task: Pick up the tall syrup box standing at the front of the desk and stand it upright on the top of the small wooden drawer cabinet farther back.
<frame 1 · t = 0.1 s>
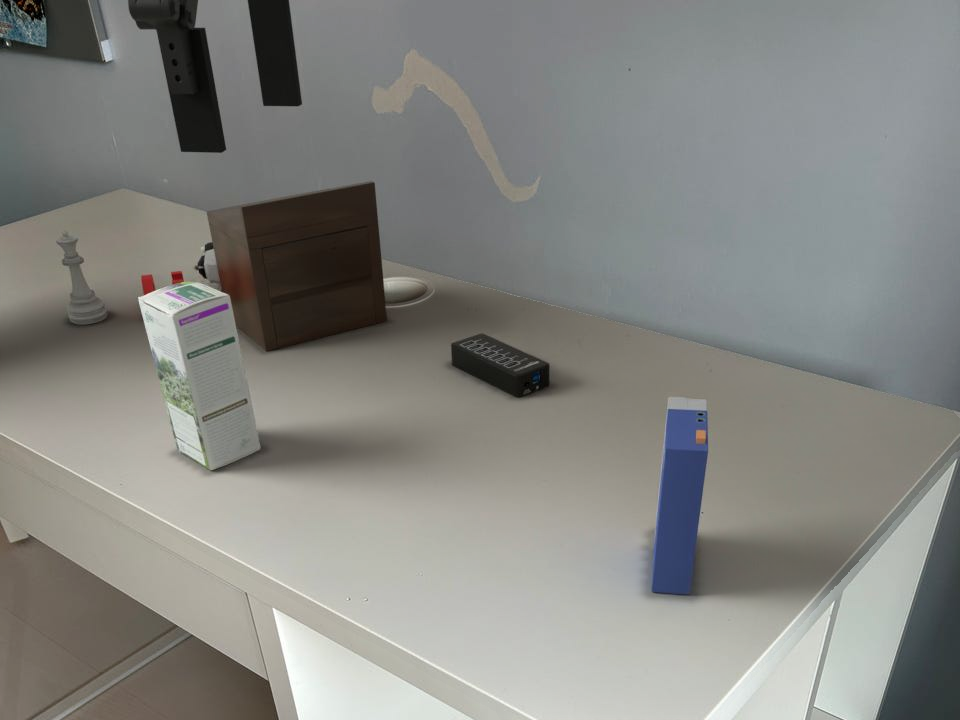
hand: (246, 127, 66), 28 cm above the table, tool pointing down, fingers open, 13 cm apart
walkman: (670, 566, 74), on the table
multiport hub: (499, 376, 101), on the table
robot toy: (249, 278, 127), on the table
chess piece: (89, 319, 117), on the table
bracket: (168, 308, 119), on the table
wooden drawer cabinet: (306, 319, 115), on the table
syrup box: (219, 453, 90), on the table
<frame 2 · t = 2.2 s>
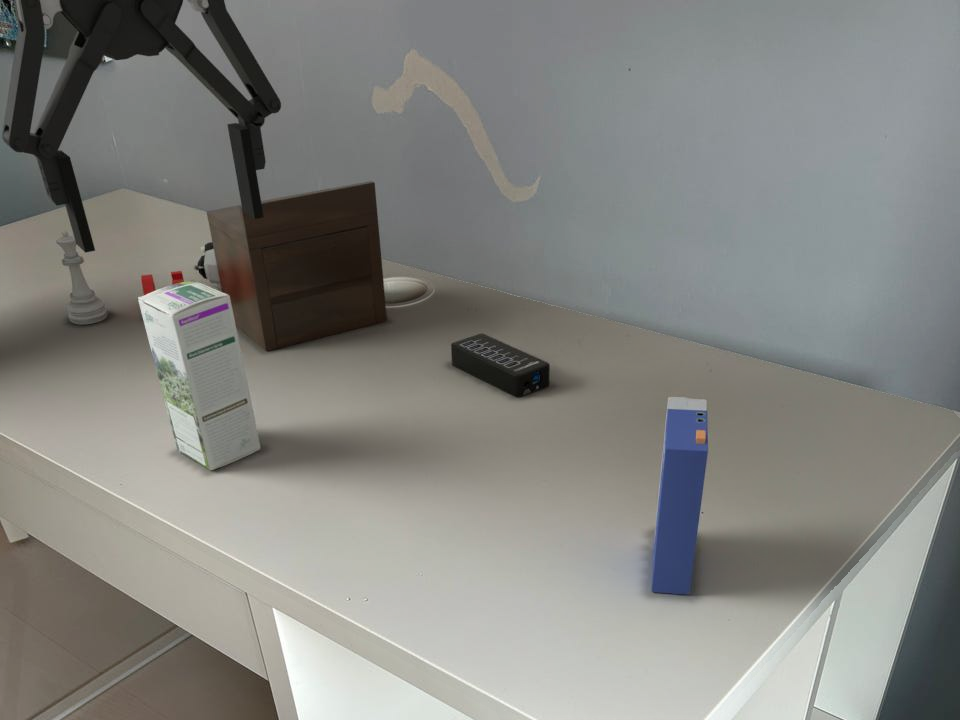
hand: (172, 230, 78), 19 cm above the table, tool pointing down, fingers open, 13 cm apart
nothing on the table moved.
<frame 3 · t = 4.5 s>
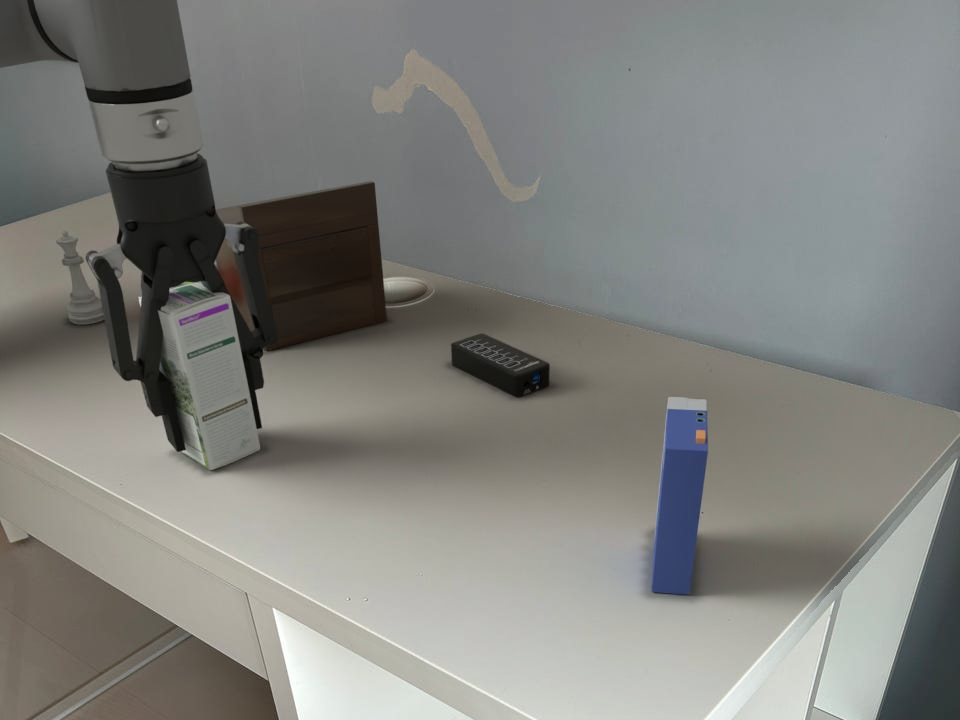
hand: (215, 433, 89), 2 cm above the table, tool pointing down, fingers closed on syrup box, 6 cm apart
syrup box: (219, 453, 90), on the table, touching gripper
everything else where it was.
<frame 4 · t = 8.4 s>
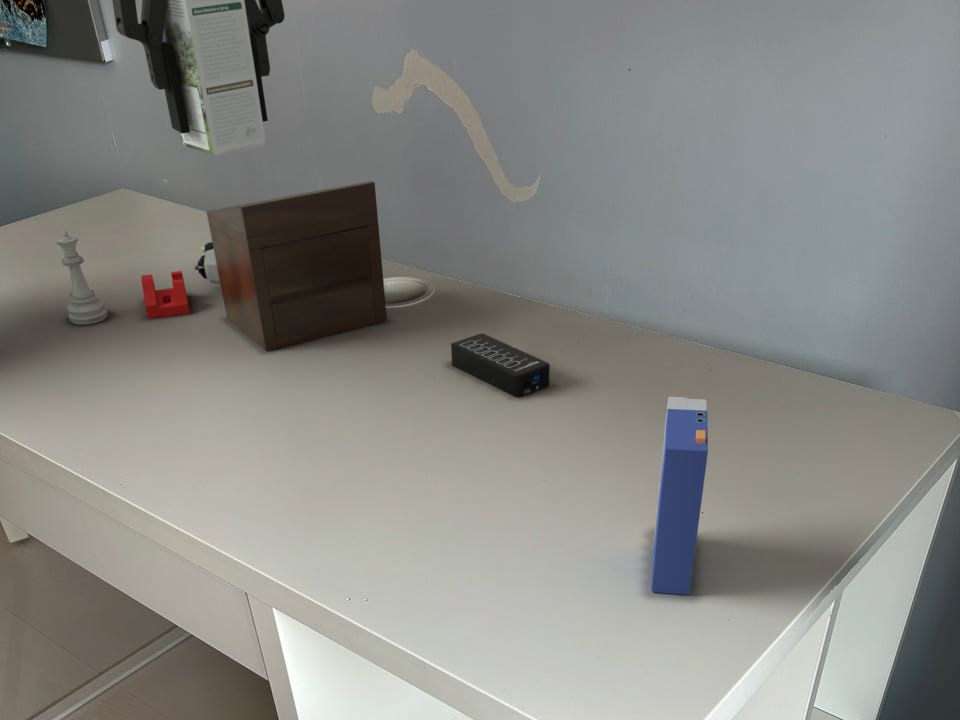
hand: (220, 123, 87), 24 cm above the table, tool pointing down, fingers closed on syrup box, 6 cm apart
syrup box: (223, 148, 88), point 22 cm above the table, touching gripper
everything else where it was.
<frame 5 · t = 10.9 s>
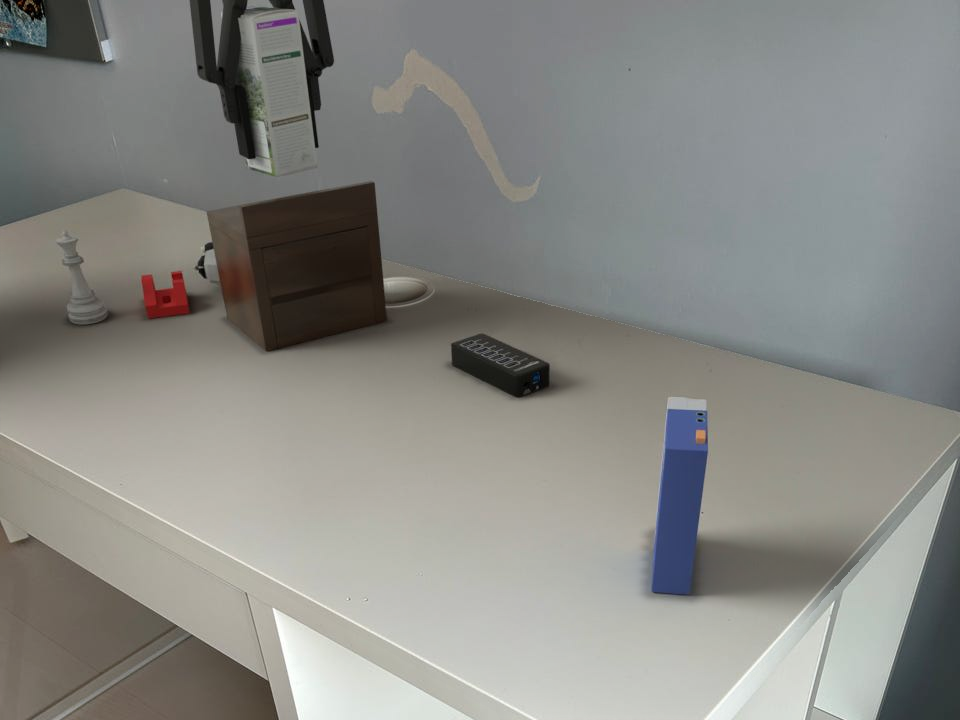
hand: (279, 150, 104), 18 cm above the table, tool pointing down, fingers closed on syrup box, 6 cm apart
syrup box: (281, 171, 105), point 16 cm above the table, touching gripper
everything else where it was.
when the fingers open (14 cm above the table, at t = 12.4 s): syrup box stays where it is, resting on wooden drawer cabinet.
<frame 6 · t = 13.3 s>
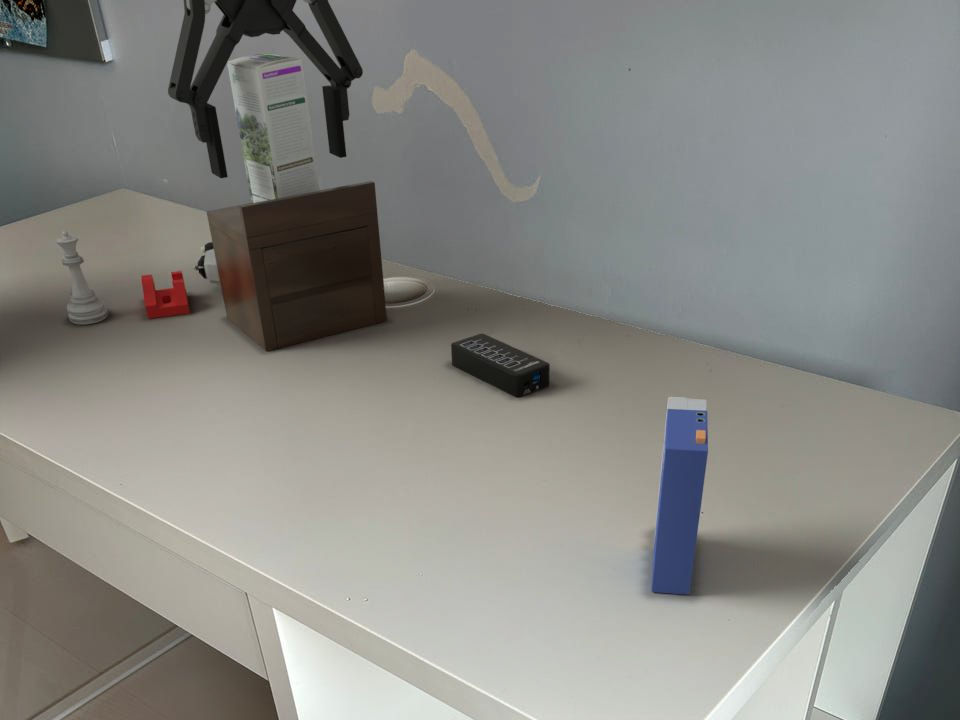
hand: (280, 165, 105), 16 cm above the table, tool pointing down, fingers open, 13 cm apart
syrup box: (287, 211, 108), point 12 cm above the table, touching wooden drawer cabinet
everything else where it was.
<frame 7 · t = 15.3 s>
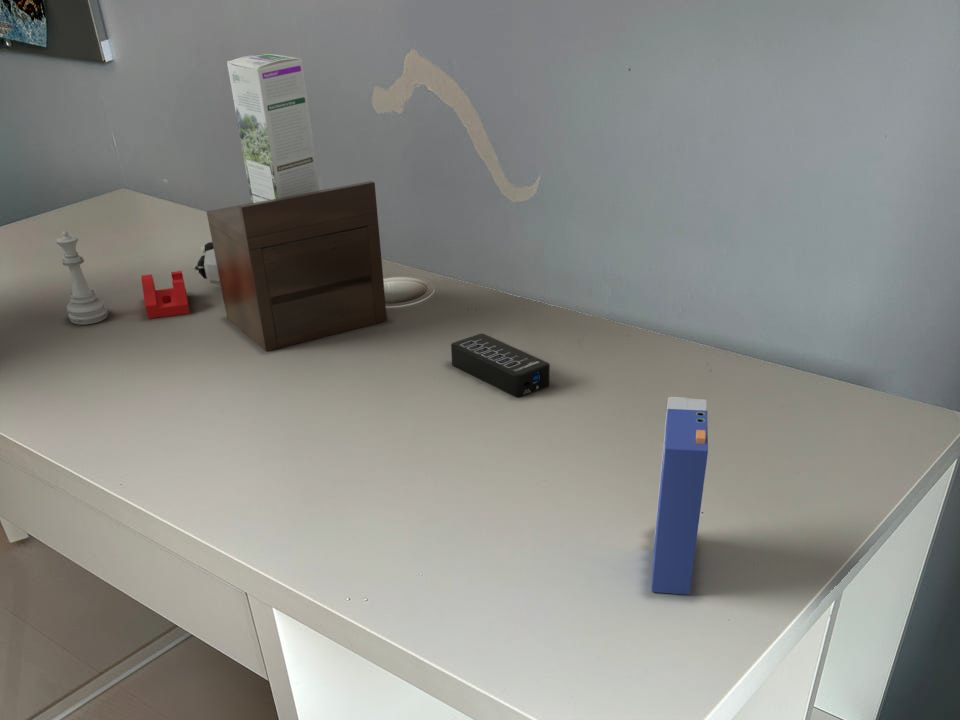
nothing on the table moved.
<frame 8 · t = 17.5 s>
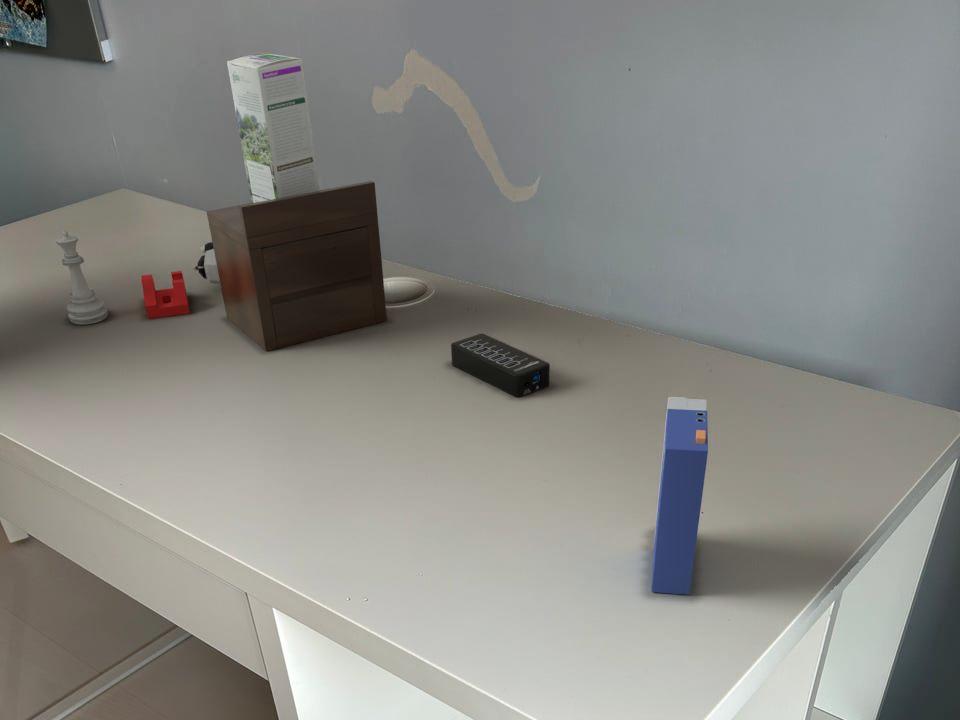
nothing on the table moved.
at the end: syrup box inside the target area on the wooden drawer cabinet (0.7 cm from its centre), point 11.8 cm above the wooden drawer cabinet's base; syrup box tilted 0°; the gripper is holding nothing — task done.
